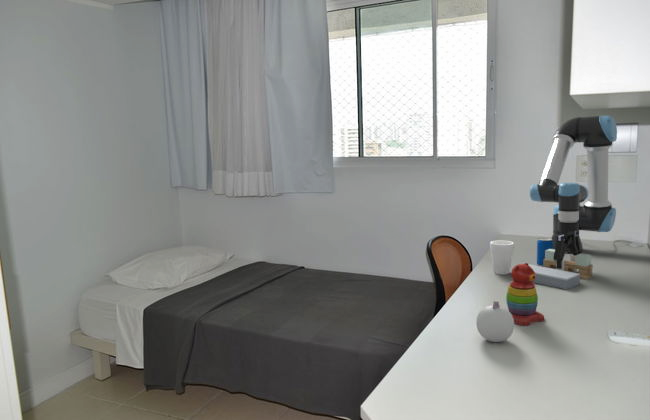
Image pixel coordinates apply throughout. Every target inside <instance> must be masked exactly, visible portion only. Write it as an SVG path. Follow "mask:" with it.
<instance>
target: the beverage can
mask: <svg viewBox="0 0 650 420" xmlns="http://www.w3.org/2000/svg"><path fill="white" fill-rule="evenodd" d="M551 238H552V237H551ZM551 238H550V237H539V238H538V240H536V265H537V266H541V267H543V260H544V259H545V250H548V249H553V241H552V239H551Z"/></svg>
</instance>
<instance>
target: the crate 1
mask: <svg viewBox="0 0 650 420" xmlns="http://www.w3.org/2000/svg"><path fill="white" fill-rule="evenodd" d="M554 252H555V249H548V250H545V260H550V261H556V260H554V259H553V258H554Z"/></svg>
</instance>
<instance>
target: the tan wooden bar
mask: <svg viewBox="0 0 650 420" xmlns="http://www.w3.org/2000/svg"><path fill="white" fill-rule="evenodd" d="M563 261H564V271H568V272H573V273H575V271H574V269H578V273H579V274H580V279H583V280H588V279H590V278H592V277H593V268H594V267H593V266H594V265H593V264H591V265H589V266H586V267H585V266H579V265H576V262H573V261H570V260H567V259H563ZM543 267H546V268H552V269H556V268H557V260H556V261H550V260H545V259H544V260H543Z"/></svg>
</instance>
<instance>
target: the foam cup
mask: <svg viewBox="0 0 650 420" xmlns="http://www.w3.org/2000/svg"><path fill="white" fill-rule="evenodd" d="M489 245H490V246H489V248H490V252H491V254H490V255H491V261H492V266H493V267H492V268H493V273H494V274H497V275H502V276H503V275H508V274H510V273H511V265H512V261H513V260H512V259H513V254H514V253H513V252H514V249H515V243H514V242H513V241H511V240H502V239H501V240H492V241H490V242H489Z"/></svg>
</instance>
